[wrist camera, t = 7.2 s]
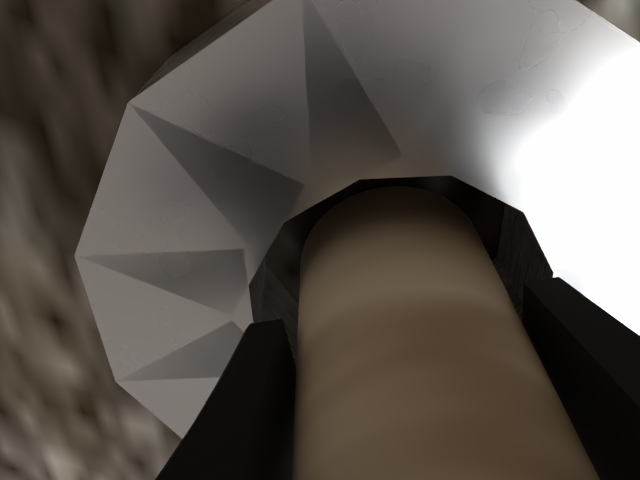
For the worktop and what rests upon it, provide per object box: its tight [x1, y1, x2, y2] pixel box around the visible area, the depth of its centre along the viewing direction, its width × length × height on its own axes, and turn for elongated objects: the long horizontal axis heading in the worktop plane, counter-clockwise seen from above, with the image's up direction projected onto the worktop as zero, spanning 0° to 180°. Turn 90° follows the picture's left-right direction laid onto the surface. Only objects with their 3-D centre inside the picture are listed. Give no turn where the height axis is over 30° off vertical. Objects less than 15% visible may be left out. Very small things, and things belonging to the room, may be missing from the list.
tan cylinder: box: [292, 186, 600, 480], centre depth 9 cm, size 4×4×7 cm
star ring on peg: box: [75, 0, 640, 439], centre depth 12 cm, size 12×12×3 cm
